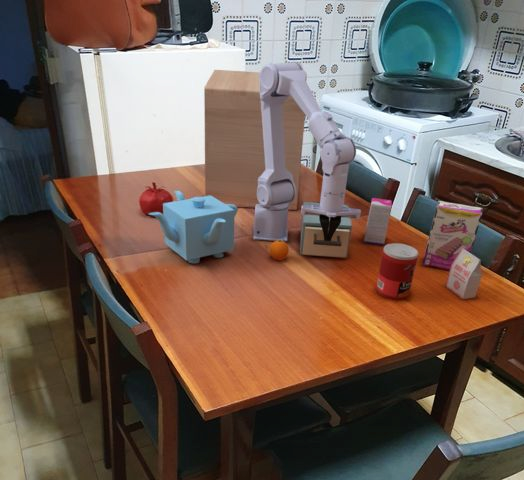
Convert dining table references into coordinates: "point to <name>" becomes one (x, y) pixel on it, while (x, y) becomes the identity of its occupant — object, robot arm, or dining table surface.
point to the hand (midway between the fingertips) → (326, 243)
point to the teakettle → (197, 226)
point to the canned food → (396, 270)
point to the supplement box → (378, 221)
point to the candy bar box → (451, 233)
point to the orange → (279, 249)
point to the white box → (465, 275)
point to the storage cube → (243, 138)
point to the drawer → (325, 242)
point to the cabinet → (314, 221)
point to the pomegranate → (154, 199)
